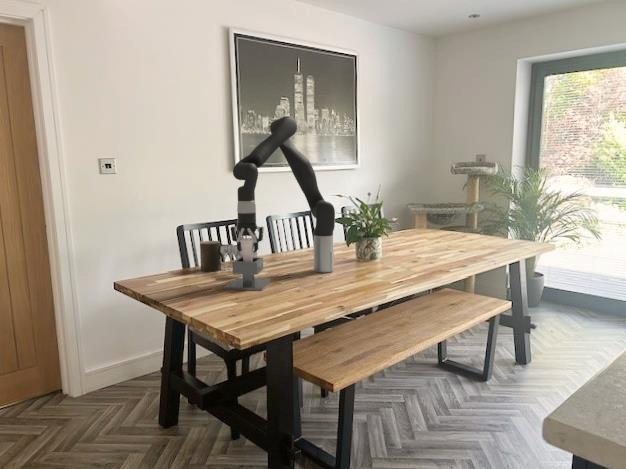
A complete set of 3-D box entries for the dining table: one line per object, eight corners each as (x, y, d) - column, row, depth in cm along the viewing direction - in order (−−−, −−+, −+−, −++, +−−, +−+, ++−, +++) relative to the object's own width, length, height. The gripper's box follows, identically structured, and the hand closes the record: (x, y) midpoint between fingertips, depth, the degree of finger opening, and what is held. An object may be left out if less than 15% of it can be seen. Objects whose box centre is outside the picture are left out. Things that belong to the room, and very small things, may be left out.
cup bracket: (271, 281, 214) (270, 256, 212) (262, 290, 198) (261, 264, 196) (236, 280, 216) (235, 255, 214) (224, 289, 200) (223, 263, 199)
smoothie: (240, 260, 209) (239, 228, 206) (255, 260, 209) (255, 227, 207) (239, 263, 202) (238, 230, 200) (255, 263, 203) (254, 230, 201)
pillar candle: (216, 272, 231) (216, 241, 229) (197, 271, 233) (196, 240, 230) (224, 268, 240) (223, 238, 238) (205, 267, 242) (204, 237, 240)
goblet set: (261, 277, 221) (260, 248, 219) (250, 279, 217) (249, 250, 215) (226, 267, 241) (225, 241, 239) (216, 269, 237) (215, 242, 235)
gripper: (265, 210, 205) (266, 249, 208) (232, 210, 207) (234, 249, 210) (261, 212, 198) (262, 253, 200) (227, 212, 200) (228, 252, 202)
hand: (247, 251), depth 205 cm, fingers closed on smoothie, 6 cm apart
